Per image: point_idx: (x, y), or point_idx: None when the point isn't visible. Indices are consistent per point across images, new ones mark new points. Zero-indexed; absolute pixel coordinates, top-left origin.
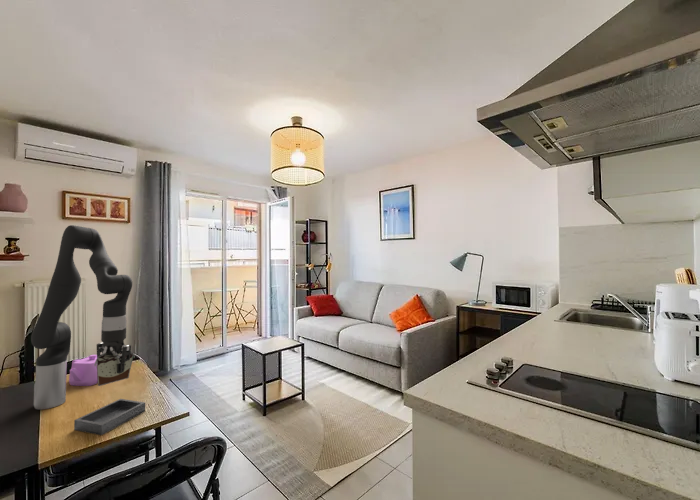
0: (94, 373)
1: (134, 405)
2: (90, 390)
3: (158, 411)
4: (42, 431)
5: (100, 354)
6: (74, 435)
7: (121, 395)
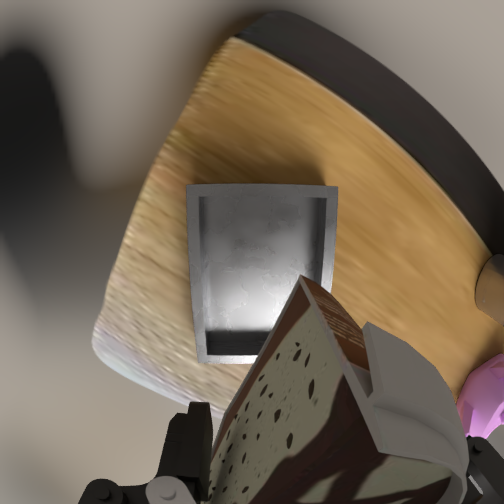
0: (480, 394)
1: (239, 348)
2: (459, 362)
3: (160, 351)
4: (408, 161)
5: (476, 482)
6: (289, 159)
7: None
